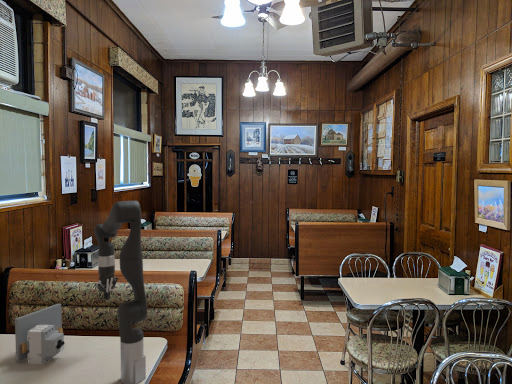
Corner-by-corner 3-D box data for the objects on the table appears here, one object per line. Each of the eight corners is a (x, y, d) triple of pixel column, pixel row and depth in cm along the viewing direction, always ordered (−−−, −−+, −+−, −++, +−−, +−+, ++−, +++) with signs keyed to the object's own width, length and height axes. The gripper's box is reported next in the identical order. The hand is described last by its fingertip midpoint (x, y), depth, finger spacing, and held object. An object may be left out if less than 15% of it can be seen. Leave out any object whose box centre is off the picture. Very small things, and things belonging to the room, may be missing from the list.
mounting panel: (62, 342, 189) (61, 304, 188) (18, 362, 169) (17, 319, 168) (59, 341, 190) (58, 303, 189) (16, 361, 170) (14, 318, 169)
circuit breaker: (58, 364, 167) (57, 332, 166) (27, 363, 168) (26, 331, 167) (67, 356, 175) (66, 325, 174) (38, 355, 175) (37, 324, 175)
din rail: (62, 335, 187) (62, 328, 187) (23, 353, 169) (23, 344, 169) (60, 335, 188) (59, 327, 188) (20, 352, 170) (20, 343, 169)
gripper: (101, 268, 172) (101, 304, 173) (122, 262, 184) (122, 296, 185) (89, 266, 176) (90, 302, 177) (111, 260, 188) (111, 294, 189)
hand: (107, 299), depth 181 cm, fingers closed
